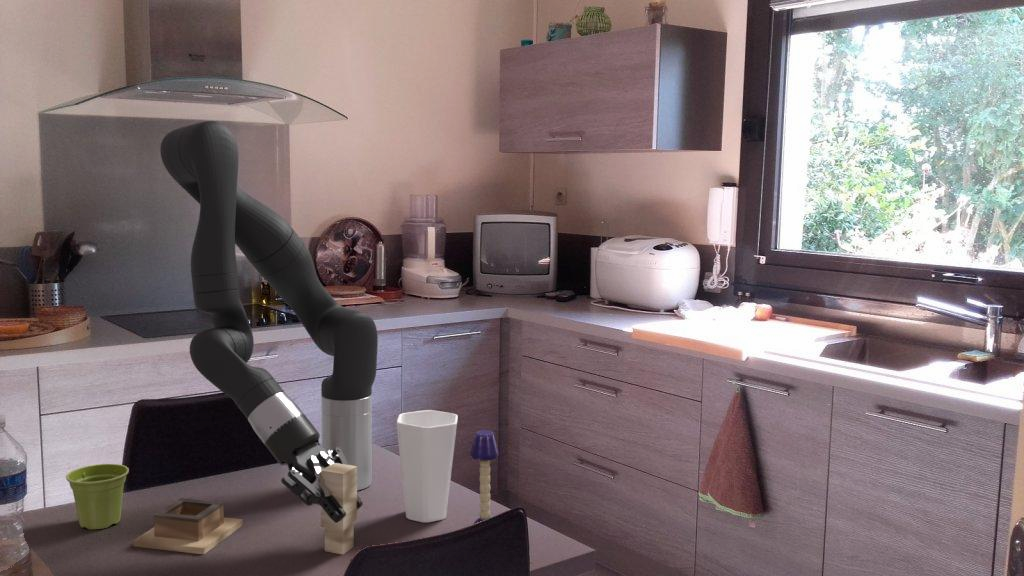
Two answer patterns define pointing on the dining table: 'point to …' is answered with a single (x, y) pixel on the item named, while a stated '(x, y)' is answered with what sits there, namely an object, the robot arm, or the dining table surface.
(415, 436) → the cup
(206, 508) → the board
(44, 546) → the dining table surface
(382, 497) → the dining table surface
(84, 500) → the plant pot
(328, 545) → the leg peg
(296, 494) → the robot arm
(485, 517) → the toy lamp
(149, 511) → the dining table surface
